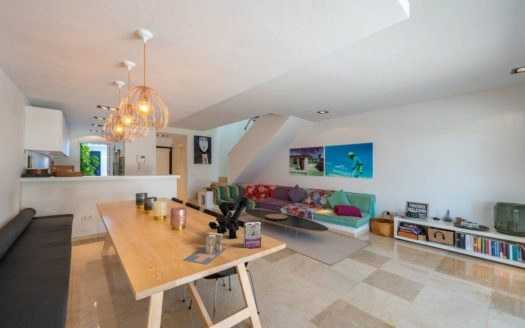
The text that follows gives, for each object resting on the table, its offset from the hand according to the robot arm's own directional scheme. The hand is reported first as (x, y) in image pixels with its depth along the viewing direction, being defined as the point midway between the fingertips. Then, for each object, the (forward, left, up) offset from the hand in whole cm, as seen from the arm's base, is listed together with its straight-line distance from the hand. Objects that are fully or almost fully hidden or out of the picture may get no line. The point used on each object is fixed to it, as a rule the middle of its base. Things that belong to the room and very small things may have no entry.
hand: (217, 238), depth 141 cm
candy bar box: (+6, +22, -7) cm, 24 cm away
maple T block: (+5, -4, -6) cm, 9 cm away
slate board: (+8, -8, -7) cm, 13 cm away
